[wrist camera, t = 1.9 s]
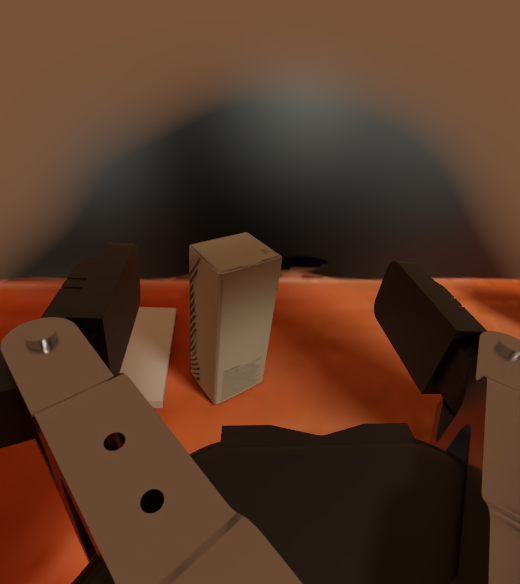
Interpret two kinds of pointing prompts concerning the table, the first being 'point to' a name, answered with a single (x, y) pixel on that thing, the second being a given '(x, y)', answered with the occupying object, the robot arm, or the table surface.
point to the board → (150, 352)
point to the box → (231, 312)
